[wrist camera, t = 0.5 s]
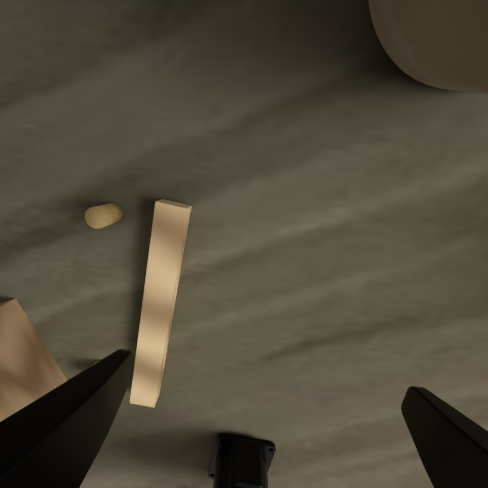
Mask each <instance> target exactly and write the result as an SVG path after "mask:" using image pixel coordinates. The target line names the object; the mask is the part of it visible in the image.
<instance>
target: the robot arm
mask: <svg viewBox="0 0 488 488" xmlns="http://www.w3.org/2000/svg"><path fill="white" fill-rule="evenodd" d="M132 373H133V352H132V351H131V350H124V349H119V350H117V351H115V352H113V353H112V354H110V355H109V356H107V357H105V358H104V359H102V360H100V361H99V362H97V363H95V364H94V365H92V366H91V367H89V368H87V369H86V370H84V371H82V372H81V373H79V374H78V375H76V376H74V377H73V378H71V379H69V380H68V381H66V382H64V383H63V384H61V385H60V386H58V387H56V388H55V389H53V390H51V391H50V392H48V393H46V394H45V395H43V396H42V397H40V398H38V399H37V400H35V401H33V402H32V403H30V404H29V405H27V406H25V407H24V408H22V409H20V410H19V411H17V412H15V413H14V414H12V415H11V416H9V417H7V418H6V419H4V420H2V421H1V422H0V488H79V487H80V485H81V483H82V482H83V480H84V478H85V476H86V474H87V472H88V470H89V468H90V467H91V465H92V463H93V461H94V459H95V457H96V455H97V453H98V452H99V450H100V448H101V446H102V444H103V442H104V440H105V438H106V436H107V434H108V432H109V430H110V428H111V425H112V423H113V421H114V418H115V416H116V414H117V411H118V409H119V407H120V404H121V402H122V399H123V397H124V395H125V392H126V390H127V388H128V385H129V383H130V380H131V377H132ZM401 410H402V414H403V417H404V419H405V422H406V424H407V426H408V429H409V431H410V434H411V436H412V439H413V441H414V444H415V446H416V448H417V451H418V453H419V456H420V458H421V461H422V463H423V465H424V467H425V470H426V472H427V474H428V476H429V478H430V480H431V482H432V484H433V486H434V488H488V431H487V430H485V429H484V428H482V427H481V426H479V425H478V424H476V423H475V422H473V421H472V420H471V419H469V418H468V417H466V416H465V415H463V414H462V413H460V412H459V411H457V410H456V409H454V408H453V407H452V406H450V405H449V404H447V403H446V402H444V401H443V400H441V399H440V398H438V397H437V396H436V395H434V394H433V393H431V392H430V391H428V390H427V389H425V388H423V387H416V386H411V387H409V388H408V390H407V392H406V395H405V397H404V400H403V402H402V405H401ZM275 451H276V448H275V444H274V443H271V442H265V441H260V440H254V439H248V438H243V437H237V436H232V435H226V434H220V435H218V438H217V442H216V445H215V449H214V453H213V456H212V460H211V464H210V467H209V471H208V477H209V478H212V479H214V483H213V488H268V476H267V472H268V470H269V467H270V464H271V462H272V459H273V456H274V453H275Z"/></svg>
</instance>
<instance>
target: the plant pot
mask: <svg viewBox="0 0 488 488" xmlns="http://www.w3.org/2000/svg"><path fill="white" fill-rule="evenodd" d="M368 3H369V10H370V14H371V19H372V23H373V26H374V29H375V32H376V34H377V36H378V39H379V41H380V43H381V45H382V46H383V48H384V50H385V51H386V53H387V54H388V55H389V57H390V58H391V60H392V61H393V62H394V63H395V64H396V65H397V66H398V67H399V68H400V69H401V70H402V71H403V72H404V73H406V74H407V75H409V76H410V77H412V78H413V79H415V80H417V81H419V82H421V83H423V84H426V85H429V86H432V87H435V88H440V89H446V90H452V91H461V92H471V93H488V0H368Z"/></svg>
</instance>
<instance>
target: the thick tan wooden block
mask: <svg viewBox="0 0 488 488" xmlns="http://www.w3.org/2000/svg"><path fill="white" fill-rule="evenodd" d="M66 381H67V379H66V377H65V376H64V374H63V373H62V371H61V370H60V368H59V366H58V365H57V363H56V362H55V360H54V358H53V357H52V355H51V354H50V352H49V351H48V349H47V347H46V346H45V344H44V343H43V341H42V339H41V338H40V336H39V335H38V333H37V332H36V330H35V328H34V327H33V325H32V324H31V322H30V320H29V319H28V317H27V316H26V314H25V312H24V311H23V309H22V308H21V306H20V305H19V303H18V301H17V300H16V298H15V299H11V300H8V301H5V302H1V303H0V422H1V421H2V420H4V419H6V418H7V417H9V416H11V415H12V414H14V413H15V412H17V411H19V410H20V409H22V408H24V407H25V406H27V405H29V404H30V403H32V402H33V401H35V400H37V399H38V398H40V397H42V396H43V395H45V394H46V393H48V392H50V391H51V390H53V389H55V388H56V387H58V386H60V385H61V384H63V383H64V382H66Z"/></svg>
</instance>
